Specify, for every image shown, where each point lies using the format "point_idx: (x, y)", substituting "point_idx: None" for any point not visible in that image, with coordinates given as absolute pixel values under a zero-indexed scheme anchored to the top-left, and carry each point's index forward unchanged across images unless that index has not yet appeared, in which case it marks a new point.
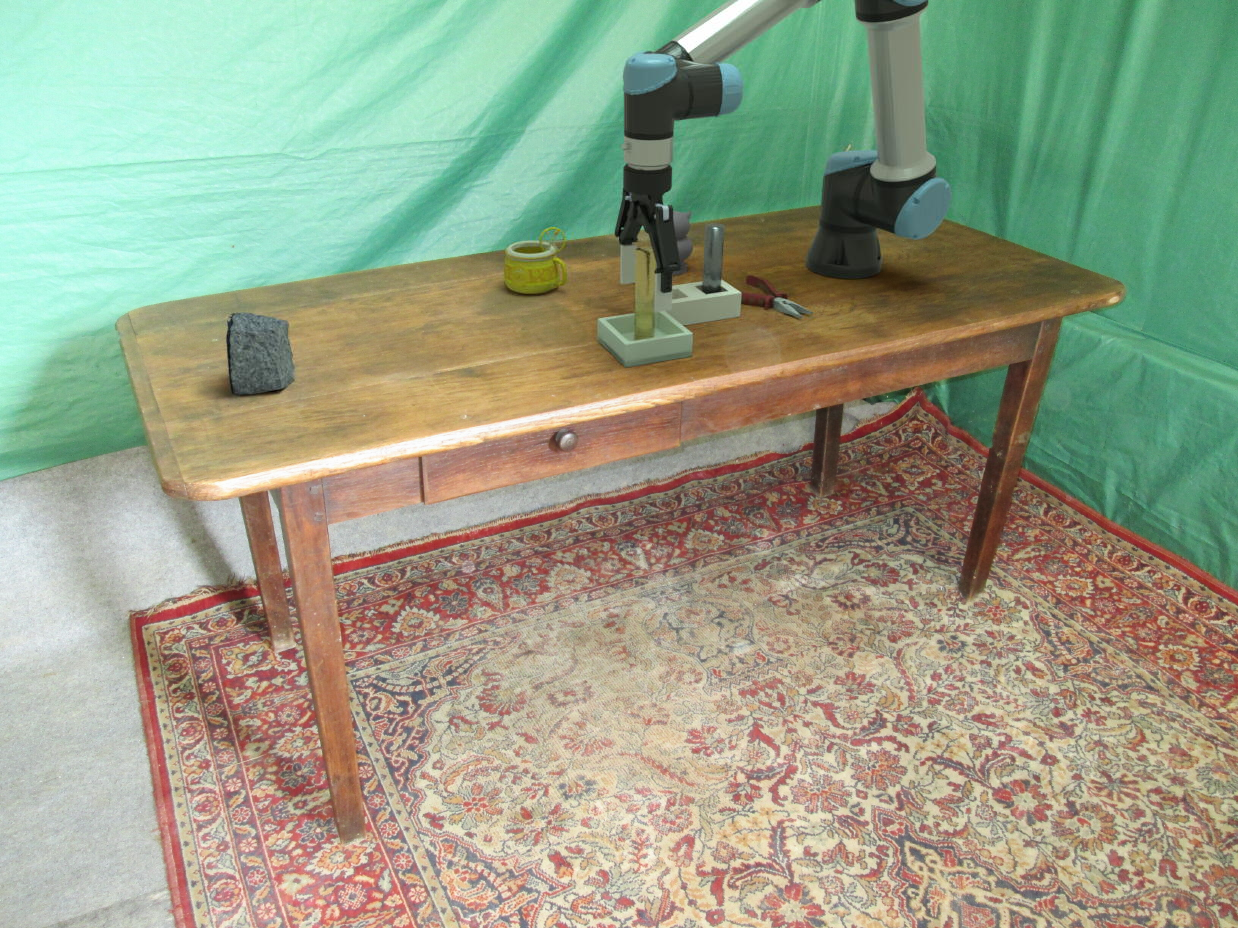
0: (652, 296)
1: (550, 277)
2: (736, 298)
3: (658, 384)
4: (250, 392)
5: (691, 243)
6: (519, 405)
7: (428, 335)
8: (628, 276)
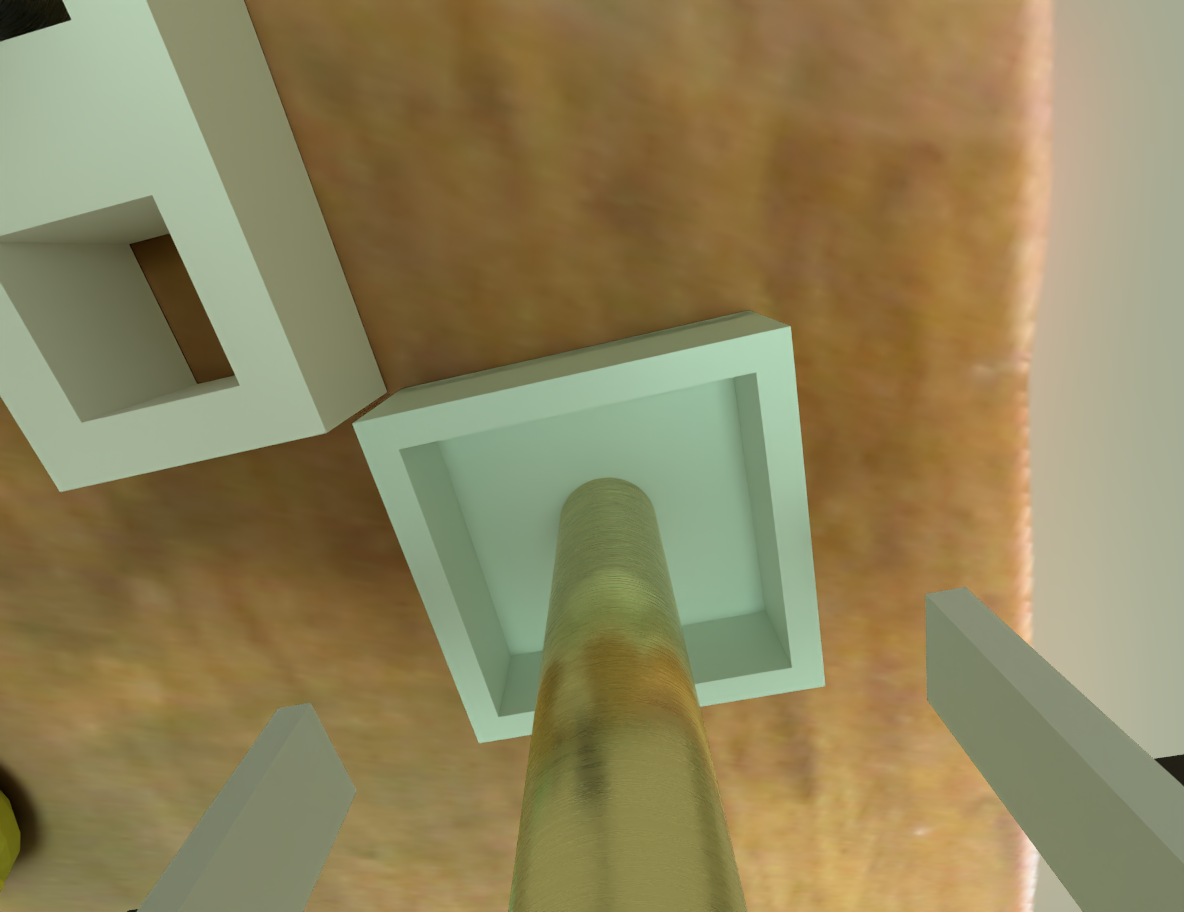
0: (691, 682)
1: None
2: None
3: (983, 523)
4: None
5: None
6: (946, 904)
7: None
8: (310, 809)
